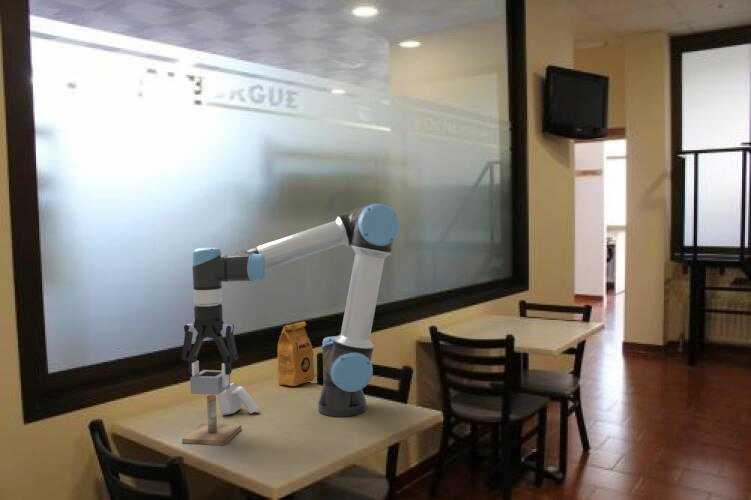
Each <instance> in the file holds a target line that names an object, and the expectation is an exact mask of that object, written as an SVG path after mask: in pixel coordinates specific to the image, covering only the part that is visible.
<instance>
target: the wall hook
mask: <svg viewBox="0 0 751 500" xmlns="http://www.w3.org/2000/svg"><path fill="white" fill-rule="evenodd" d="M216 400H217V403H218V406H219V411H220V414H221V415H222V416H229V415H232V414H235V413H236V412H238V410H240V409H242V407H243V406H244V407H245V408H246V410H247V412H248V413H249V414H250V415H252V413H254V412H256V410H258V409H259V407H258V405H257V403H256V402H255V400H254V399H253V398H252V396H251V395H250V394H249V393H248V391H247V390H246V389H245V387H244V386H240V385H238V383H236V382H232V383H231V382H230V387H229V388H227V389H226V390H225V391H223V392H222V393H220V394H219V395H216Z"/></svg>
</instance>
